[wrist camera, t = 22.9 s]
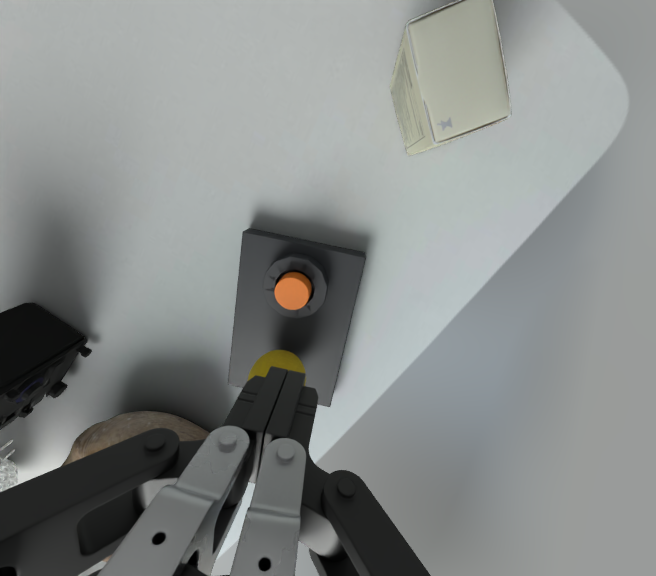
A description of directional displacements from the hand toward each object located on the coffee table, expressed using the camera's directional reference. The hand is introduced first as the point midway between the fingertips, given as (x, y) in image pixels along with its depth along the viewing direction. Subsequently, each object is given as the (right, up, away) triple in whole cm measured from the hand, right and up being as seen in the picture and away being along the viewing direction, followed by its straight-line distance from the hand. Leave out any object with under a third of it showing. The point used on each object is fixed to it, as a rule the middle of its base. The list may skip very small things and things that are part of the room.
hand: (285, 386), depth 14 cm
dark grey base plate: (-2, +1, +23) cm, 23 cm away
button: (-1, +4, +18) cm, 18 cm away
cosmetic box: (+10, +19, +15) cm, 26 cm away
